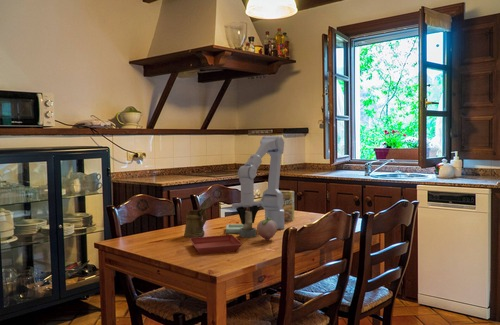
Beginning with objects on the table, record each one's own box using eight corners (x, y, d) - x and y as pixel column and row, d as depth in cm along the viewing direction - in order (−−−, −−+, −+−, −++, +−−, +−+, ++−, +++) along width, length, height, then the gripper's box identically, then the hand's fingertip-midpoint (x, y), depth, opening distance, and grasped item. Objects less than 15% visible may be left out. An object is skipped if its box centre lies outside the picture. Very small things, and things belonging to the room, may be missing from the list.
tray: (249, 228, 220) (249, 223, 219) (249, 233, 208) (249, 229, 207) (226, 228, 219) (226, 224, 219) (225, 233, 207) (225, 229, 207)
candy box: (276, 220, 240) (275, 191, 239) (278, 218, 244) (278, 190, 243) (292, 221, 237) (292, 191, 236) (294, 219, 241) (294, 190, 240)
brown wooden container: (205, 239, 196) (204, 198, 195) (180, 236, 202) (179, 196, 201) (216, 235, 203) (215, 195, 202) (192, 232, 210) (191, 194, 209)
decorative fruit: (260, 237, 199) (260, 214, 198) (278, 238, 196) (278, 215, 196) (254, 242, 190) (253, 218, 189) (273, 243, 187) (273, 219, 187)
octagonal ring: (255, 233, 206) (255, 227, 206) (256, 237, 199) (256, 230, 199) (239, 234, 206) (239, 227, 206) (239, 237, 199) (239, 230, 199)
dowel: (252, 230, 204) (251, 211, 204) (252, 232, 201) (252, 212, 200) (243, 231, 204) (243, 211, 204) (243, 232, 200) (242, 212, 200)
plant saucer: (196, 256, 170) (196, 247, 170) (189, 245, 187) (189, 237, 187) (243, 252, 175) (243, 243, 175) (231, 242, 192) (231, 234, 192)
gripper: (257, 190, 208) (258, 220, 209) (228, 193, 202) (229, 223, 203) (264, 192, 202) (265, 222, 203) (235, 194, 196) (235, 226, 196)
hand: (247, 223), depth 202 cm, fingers closed on dowel, 4 cm apart
